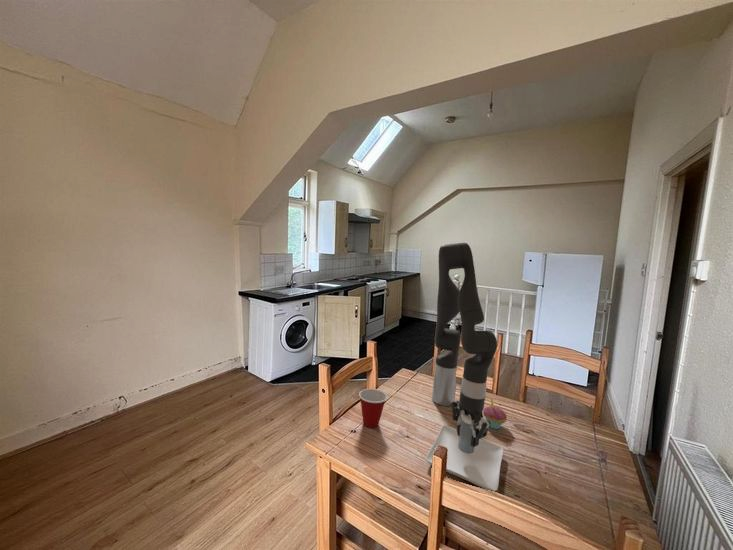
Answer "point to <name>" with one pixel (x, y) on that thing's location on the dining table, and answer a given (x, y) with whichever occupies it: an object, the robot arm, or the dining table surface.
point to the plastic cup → (372, 406)
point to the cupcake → (494, 415)
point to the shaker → (465, 435)
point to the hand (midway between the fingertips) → (466, 440)
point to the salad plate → (470, 459)
